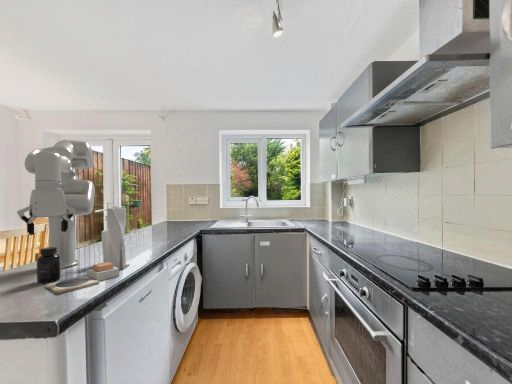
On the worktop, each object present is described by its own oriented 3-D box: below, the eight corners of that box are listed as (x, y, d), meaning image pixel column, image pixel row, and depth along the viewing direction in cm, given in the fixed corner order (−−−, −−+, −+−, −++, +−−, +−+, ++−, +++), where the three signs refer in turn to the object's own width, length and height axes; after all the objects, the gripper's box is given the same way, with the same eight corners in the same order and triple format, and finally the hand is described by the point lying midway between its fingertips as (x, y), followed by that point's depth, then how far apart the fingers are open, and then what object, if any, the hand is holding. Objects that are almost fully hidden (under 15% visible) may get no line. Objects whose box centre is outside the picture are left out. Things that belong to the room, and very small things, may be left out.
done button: (93, 270, 100) (93, 264, 100) (106, 267, 104) (106, 261, 104) (99, 272, 97) (99, 266, 97) (113, 269, 101) (113, 263, 101)
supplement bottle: (65, 278, 99) (64, 246, 99) (46, 284, 92) (46, 250, 92) (51, 277, 101) (51, 245, 101) (31, 283, 94) (31, 249, 94)
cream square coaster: (45, 286, 90) (45, 283, 90) (84, 277, 100) (84, 274, 100) (58, 294, 83) (58, 291, 83) (99, 283, 93) (99, 280, 93)
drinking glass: (111, 265, 117) (111, 231, 117) (98, 264, 118) (97, 231, 118) (121, 261, 123) (121, 229, 124) (109, 261, 125) (109, 229, 125)
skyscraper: (101, 270, 109) (101, 202, 109) (110, 265, 117) (110, 202, 117) (123, 269, 110) (122, 202, 110) (130, 264, 118) (130, 201, 118)
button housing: (87, 277, 99) (87, 269, 99) (109, 272, 106) (109, 265, 106) (96, 281, 95) (96, 273, 95) (119, 276, 101) (119, 268, 101)
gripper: (71, 187, 106) (71, 230, 105) (14, 185, 92) (13, 235, 91) (79, 186, 101) (79, 231, 101) (20, 185, 87) (20, 236, 87)
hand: (48, 233), depth 96 cm, fingers open, 9 cm apart
